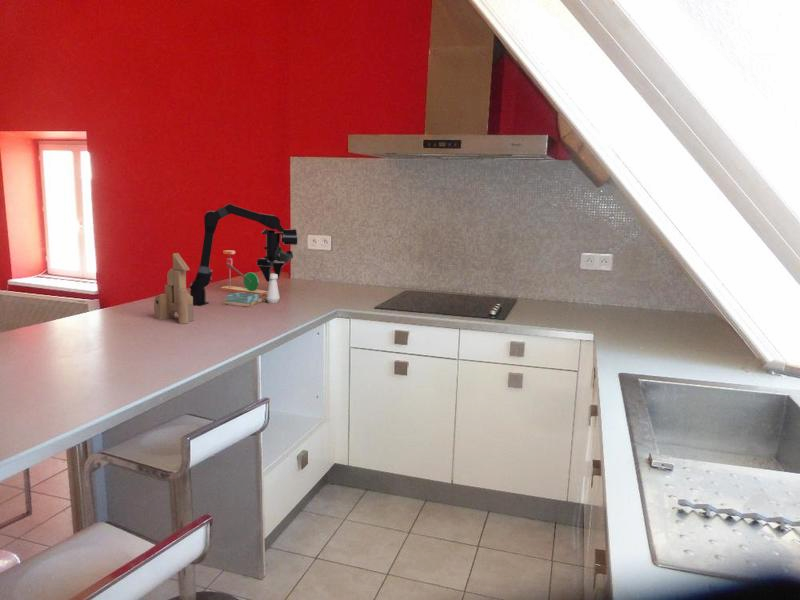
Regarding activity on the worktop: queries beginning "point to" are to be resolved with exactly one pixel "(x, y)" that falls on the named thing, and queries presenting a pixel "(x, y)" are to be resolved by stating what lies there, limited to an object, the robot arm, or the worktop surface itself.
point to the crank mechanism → (249, 279)
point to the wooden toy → (175, 294)
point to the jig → (243, 299)
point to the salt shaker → (273, 289)
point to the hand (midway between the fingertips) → (272, 280)
